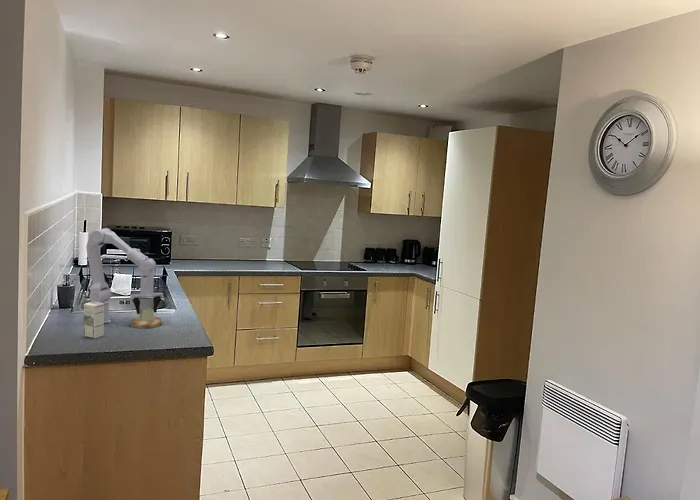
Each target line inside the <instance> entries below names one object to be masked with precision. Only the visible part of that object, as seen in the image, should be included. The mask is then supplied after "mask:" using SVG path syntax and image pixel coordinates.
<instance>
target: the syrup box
mask: <svg viewBox="0 0 700 500" xmlns="http://www.w3.org/2000/svg"><path fill="white" fill-rule="evenodd" d="M104 327H105V323H104V303H98V302H91V301H90V302H89V301H88V302H86V303H83V337H85V338H91V339H97V338H101V337H104V335H105V332H104V331H105V329H104Z"/></svg>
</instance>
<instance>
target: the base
mask: <svg viewBox="0 0 700 500" xmlns="http://www.w3.org/2000/svg"><path fill="white" fill-rule="evenodd" d="M161 325H162V318H161V317H158V316H154V320H151V321H142V320H140V316H138V317H133V318H132V319H131V327H133V328H136V329H152V328H158V327H160V326H161Z"/></svg>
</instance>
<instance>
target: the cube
mask: <svg viewBox="0 0 700 500" xmlns="http://www.w3.org/2000/svg"><path fill="white" fill-rule="evenodd" d="M139 317H140V320H142V321H151V320H154V317H155V313H154V310H153V307H143V308H140V314H139Z"/></svg>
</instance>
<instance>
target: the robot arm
mask: <svg viewBox="0 0 700 500" xmlns="http://www.w3.org/2000/svg"><path fill="white" fill-rule="evenodd" d="M105 244H112V245H113V246H115V247H117V249H119V250H120V251H122V252H123V253H124V254H126V257H127V259H128V260H130V261H131V262H132V263H133V264H135V266H137V267H138V269H139V271H140V287H139V288H140V293H139V292H138V293H134V294H132V293H131V294H129V298H130V300H132V302H133V305H134V307H135V311H136V314H137V315H140V307H141V306H140V305H141V300H140V299H150V298H151V299H152V300H153V301H152V302H153V303H152V304H153V305H152V306H153V307H152V309H153V310H154V314H156V313H157V311H158V307H159V305H160V303H161V301H162V298H164V293H163V292H154V286H155V285H154V284H155V283H154V281H155V279H154V278H155V277H154V276H155V273H154V272H155V268H156V266H157V263H156V261H155V260H154V258H151V257H150V258H149V256H147V255H145V254H143V253H142V252H141V249H140V248H135V247H133V248H132V247H131V246H129V244H127V243H126V242H125V240H122V238H120V237H119V236H118V235H117V234H116V232H114V231H112V230H111V229H110V228H107V227H105V228H99V229H93V230H92V231H91V232H90V233H89V234H88V240H87V242H86V252H87V253H86V254H87V258H88V266H89V271H90V276H91V283H92V284H91V286H90V288H89V292H90V293H89V301H90V302H98V303H104V324H107V323H112V320H110V299H112V295H113V294H112V291H111V289H110V287H109V284H108V282H106V280H105V273H104V268H103V262H102V256H101V249H102V247H103V246H104V245H105Z"/></svg>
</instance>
